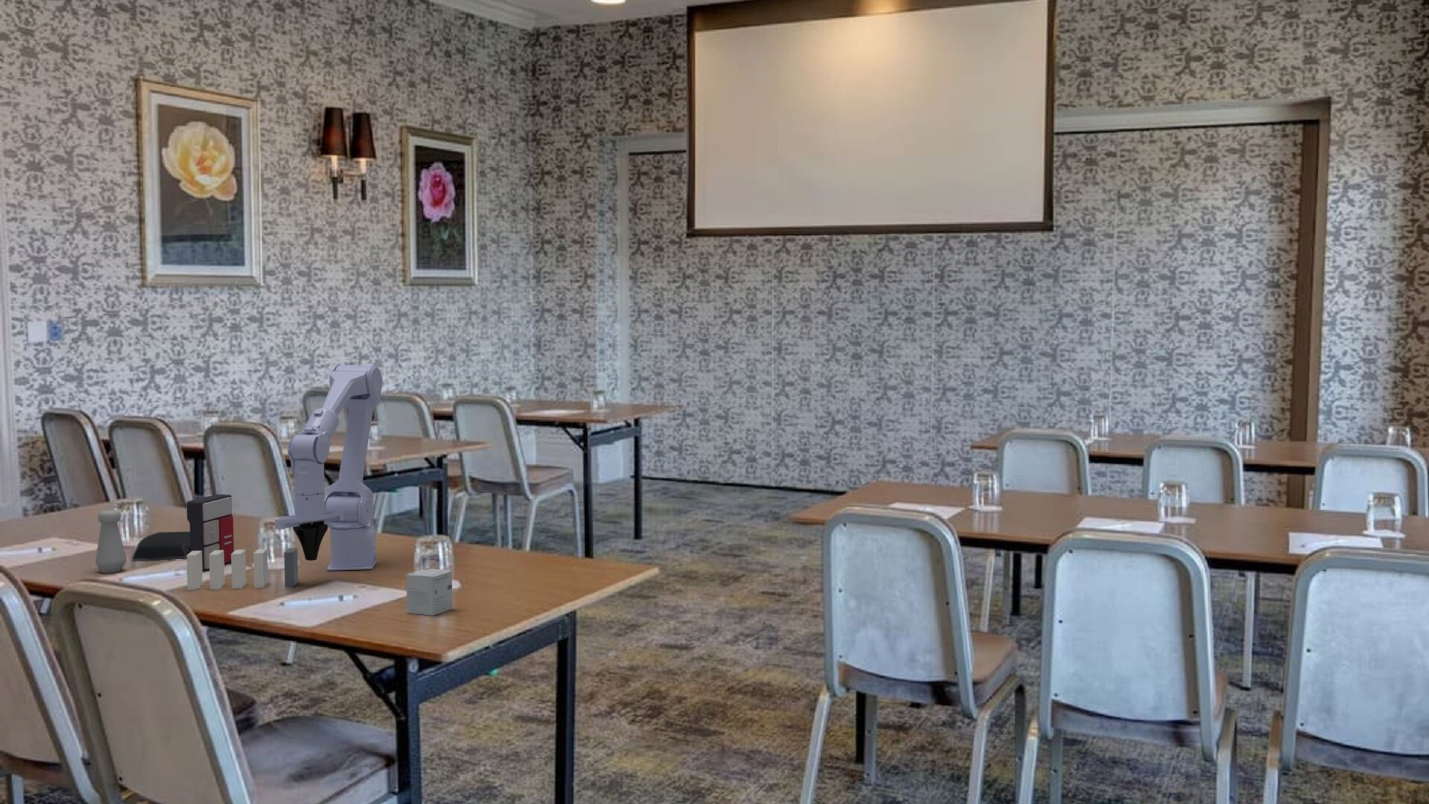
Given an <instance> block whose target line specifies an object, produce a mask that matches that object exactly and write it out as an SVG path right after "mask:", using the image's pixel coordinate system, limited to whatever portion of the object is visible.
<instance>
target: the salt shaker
mask: <svg viewBox="0 0 1429 804" xmlns="http://www.w3.org/2000/svg"><path fill="white" fill-rule="evenodd" d="M121 518H122V515H121V512H120V511H119V510H117V509H116V510H115V509H107V510H102V511H100V512H99V513H98V514H97V521H98V523H100V529H99V536H98V543H97V548H96V553H95V554H96V555H95V564H96V566H97V569H98V570H99V572H100V573H102V574H115V573H119V572H122V570H123V567H124V566H125V564H126V562H127V556H126V552H125V548H124V545H123V541H122V537H121V532H120V528H119V524H118V522H120V521H121Z"/></svg>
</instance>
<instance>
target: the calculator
mask: <svg viewBox="0 0 1429 804" xmlns="http://www.w3.org/2000/svg"><path fill="white" fill-rule="evenodd" d="M186 518H187V521H188V524H189V532H190V551H191V552H192V551H202V571H204V572H207V571H209V570H208V569H209V554H211V553H212V552H213V551H214V550H224V566H225V565H227V564H230V563H231V554H232V553H233V552H234V551H235V546H234V545H235V539H234V537H235V535H234V516H233V498H232V495H231V494H221V493H220V494H218V493H216V494H212V495H209V496H204V497H200V498H196V499H191V500H188V501H186ZM206 570H207V571H206Z"/></svg>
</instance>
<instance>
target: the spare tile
mask: <svg viewBox="0 0 1429 804" xmlns="http://www.w3.org/2000/svg"><path fill="white" fill-rule="evenodd" d="M283 556H284V557H283V561H284V563H283V565H284V568H283V569H284V588H293V587H294V588H295V586H296V585H297V584H298V582H299V564H298V563H299V562H298V559H299V558H298V556H299V555H298V548H297V547H293V548H291V547H290V548H287V549H286V550H284V552H283Z"/></svg>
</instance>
